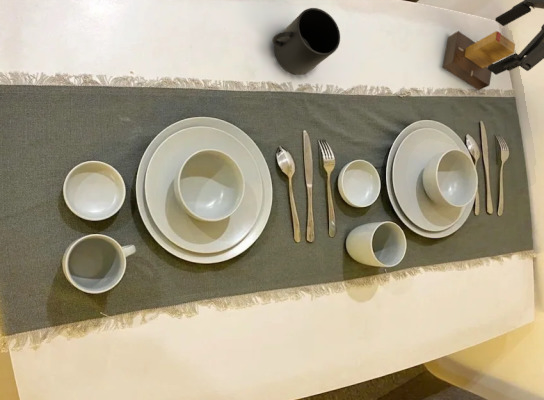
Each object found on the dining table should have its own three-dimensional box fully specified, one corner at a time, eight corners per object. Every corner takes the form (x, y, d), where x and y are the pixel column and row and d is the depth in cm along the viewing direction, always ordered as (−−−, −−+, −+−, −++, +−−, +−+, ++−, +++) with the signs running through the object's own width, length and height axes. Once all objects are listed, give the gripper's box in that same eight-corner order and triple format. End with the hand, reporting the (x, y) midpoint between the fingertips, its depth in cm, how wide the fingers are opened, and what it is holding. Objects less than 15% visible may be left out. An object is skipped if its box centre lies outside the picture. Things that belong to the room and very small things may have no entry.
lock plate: (483, 58, 118) (495, 52, 116) (478, 92, 115) (489, 87, 112) (448, 35, 115) (459, 28, 112) (441, 69, 112) (452, 63, 109)
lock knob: (483, 59, 114) (516, 43, 106) (482, 68, 113) (515, 52, 105) (465, 47, 112) (497, 30, 104) (464, 56, 111) (495, 39, 104)
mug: (260, 27, 94) (282, 1, 86) (311, 34, 98) (337, 11, 90) (264, 71, 92) (287, 50, 84) (316, 77, 97) (343, 57, 89)
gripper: (591, -69, 90) (491, -6, 110) (582, 36, 83) (476, 84, 102) (615, -47, 93) (513, 11, 112) (608, 56, 85) (500, 99, 104)
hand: (495, 46), depth 107 cm, fingers open, 13 cm apart
